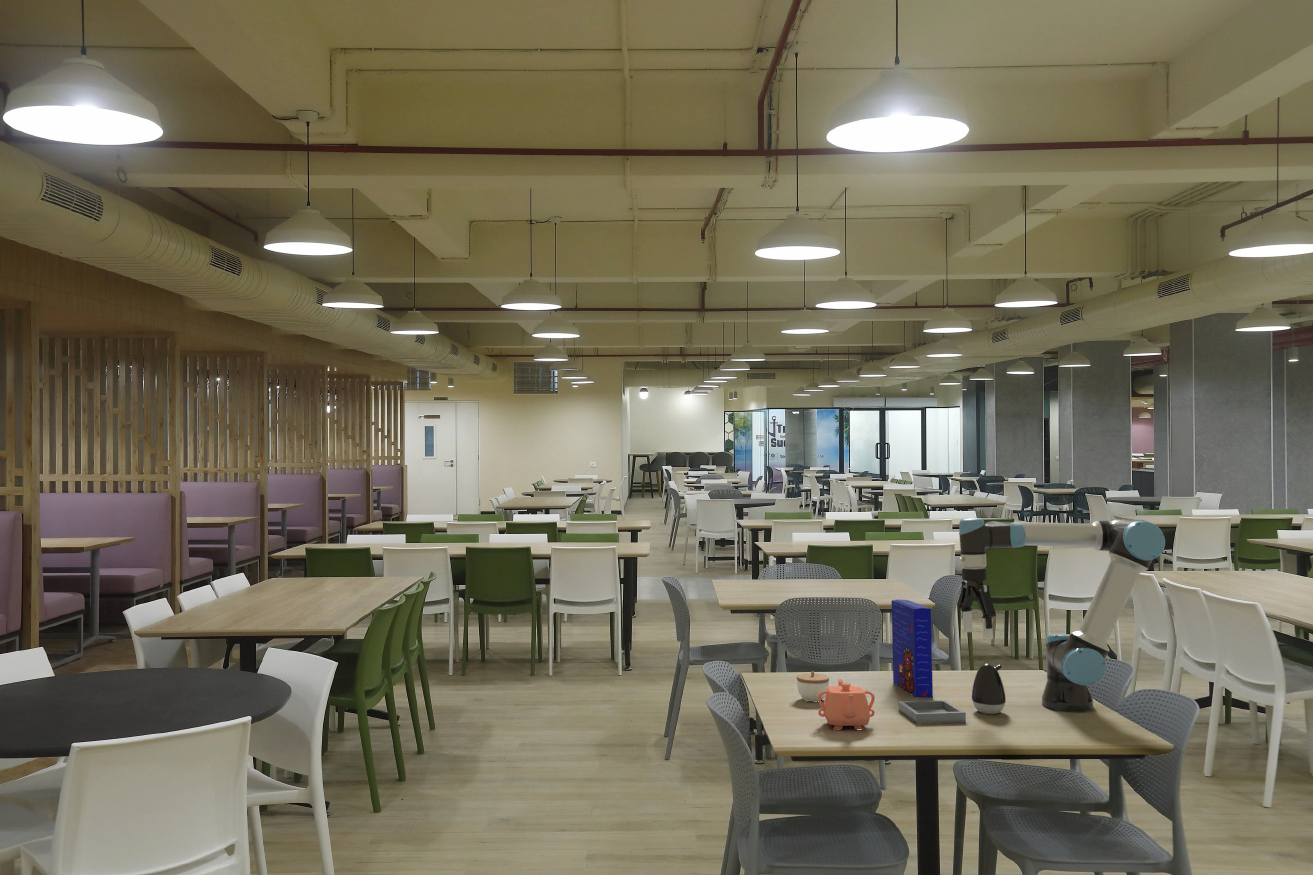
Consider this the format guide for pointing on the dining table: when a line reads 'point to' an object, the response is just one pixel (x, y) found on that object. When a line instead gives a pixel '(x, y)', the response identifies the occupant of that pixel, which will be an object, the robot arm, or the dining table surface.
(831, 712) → the teapot
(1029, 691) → the dining table surface
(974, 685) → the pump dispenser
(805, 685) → the lidded jar
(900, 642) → the cereal box
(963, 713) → the tray
